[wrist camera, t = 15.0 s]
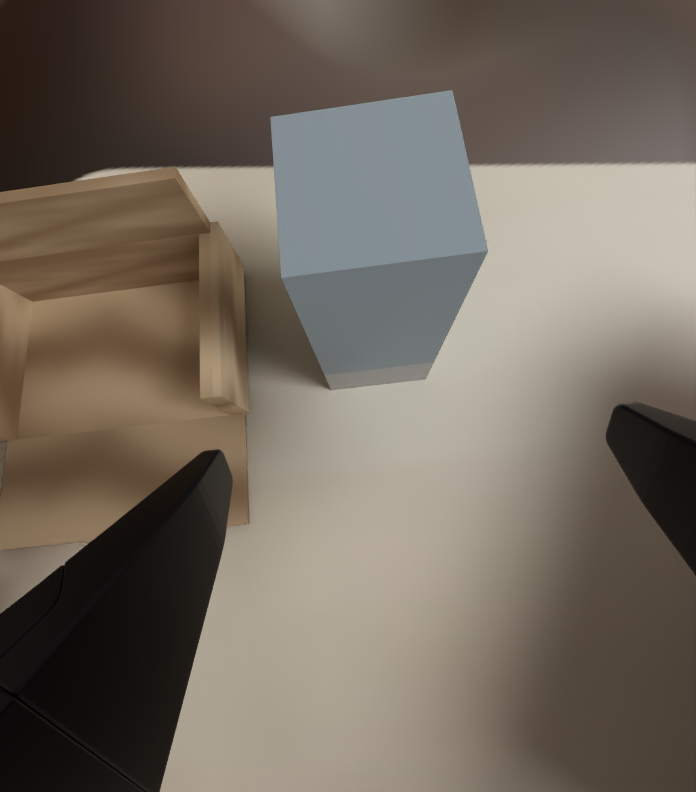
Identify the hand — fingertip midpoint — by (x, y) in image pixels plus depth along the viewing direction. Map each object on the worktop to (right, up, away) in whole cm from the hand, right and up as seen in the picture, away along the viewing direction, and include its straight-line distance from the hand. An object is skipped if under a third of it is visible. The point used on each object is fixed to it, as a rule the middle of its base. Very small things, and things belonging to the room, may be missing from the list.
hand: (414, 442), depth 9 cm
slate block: (0, +4, +13) cm, 14 cm away
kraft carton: (-15, +1, +14) cm, 20 cm away
